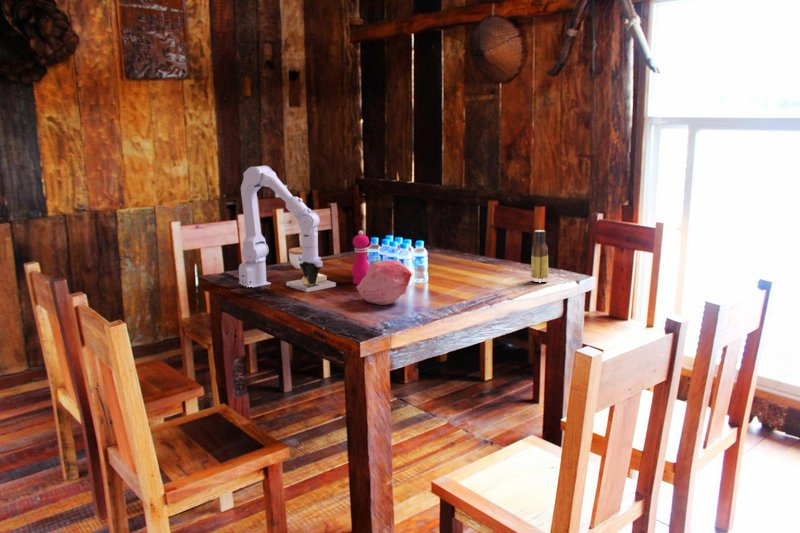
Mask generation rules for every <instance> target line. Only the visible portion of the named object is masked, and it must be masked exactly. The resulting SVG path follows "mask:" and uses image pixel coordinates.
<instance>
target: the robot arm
mask: <svg viewBox="0 0 800 533" xmlns="http://www.w3.org/2000/svg"><path fill="white" fill-rule="evenodd" d="M242 176H243V180H242V183H241V185H240V194H241V202H242V211H243V212H242V213H243V218H244V228H245V238H244V239H243V242H242V249H241V256H242V258H243V259H244V262H242V263H240V264H239V265H238V278H239V282H238V285H239V284H241V285H240V286H242V285H243V287H245V286H246V287H245V288H248V287H249V288H250V287H252V288H257V287H262V286H266V285H267V286H268V285H271V284H272V283H271V282H269V281H267V266H266V265H267V264H266V260H267V258H266V257H267V256H268V254H269V251H270V250H269V245H268V244H267V243H266V238H265V236H263V234H262V231H261V230H262V229H261V222H260V221H261V220H260V213H259V212H260V211H259V203H258V196H257V194H258V193H257V192H258V191H259V190H260V189H261V188H262V187H268V188H270V189H271V190H272V191H273V192H275V194H277V196H279V197H280V199H281V200H282V201H284V202H285V209H287V211H289V212H290V213H291V215H292V216H293V217H294V219H296V220H297V221H298V222H297V223H298V227H299V229H300V230H301V232H300V233H301V245H302V255H298V261H303V263H301V264H300V267H301V269H300V270H302V273H303V277H307V276H309V283H310V284H315V283H316V279H317V275H318V274H319V272H320V270H321V269H322V268H323V264H324V263H323V260H322V257H321V256H319V240H318V239H319V237H318V236H319V232H318V226H319V225H320V222H321V219H320V218H321V217H320V216H319V214H318V213H317V212H315V211H312V209H311V208H309V207H308V206H307V205H306V204H305V203H304V202H303V201H304V200H303V198H301V197H300V198H299V197H298V196H293V194H292V193H291V192H290V191H289V190H288V188H287V187H286V186H285V184H284V183H282V182H283V181H281V179H279V178H278V176H277V173H276V172H275V171H274V170H272V168H271V167H270V166H268V165H260V166H250V167H248V168H247V169H246V170H245V171H244V172H243V175H242Z"/></svg>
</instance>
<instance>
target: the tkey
mask: <svg viewBox="0 0 800 533" xmlns="http://www.w3.org/2000/svg"><path fill="white" fill-rule="evenodd" d="M301 279H302V283H303V284H308V287H312V286H313V284H310V283H309V276H307V277H304V276H303V277H301ZM316 282H319V276H318V275H317V279H316Z"/></svg>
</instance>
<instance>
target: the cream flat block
mask: <svg viewBox="0 0 800 533" xmlns="http://www.w3.org/2000/svg"><path fill="white" fill-rule="evenodd" d="M318 276H319V281H323V280H327V278H328V276H327V275H325V274H322V273H318Z"/></svg>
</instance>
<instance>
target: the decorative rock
mask: <svg viewBox="0 0 800 533" xmlns="http://www.w3.org/2000/svg"><path fill="white" fill-rule="evenodd" d="M369 266H370V267H369V269H368V270H367V271H366V276H365V277H363V279H362V281H361V282H360V284H357V285H356V290H357V292H358V293H359V295H360V296H361V297H362V299H363V300H365V301H366V302H368V303H371V304H376V305H378V306H379V305H383V306H385V305H391V304H394V303H395V302H397V301H398V300H399V298H401V296H402V295H404V294H405V293H406V292H407V287H408V286H409V284H410V282H411V278H412V272H411V271H410V269H408V268H407V267H406V266H405V264H403V262H401V261H400V260H396V259H387V260H379V261H374V262H371V264H369Z"/></svg>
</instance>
